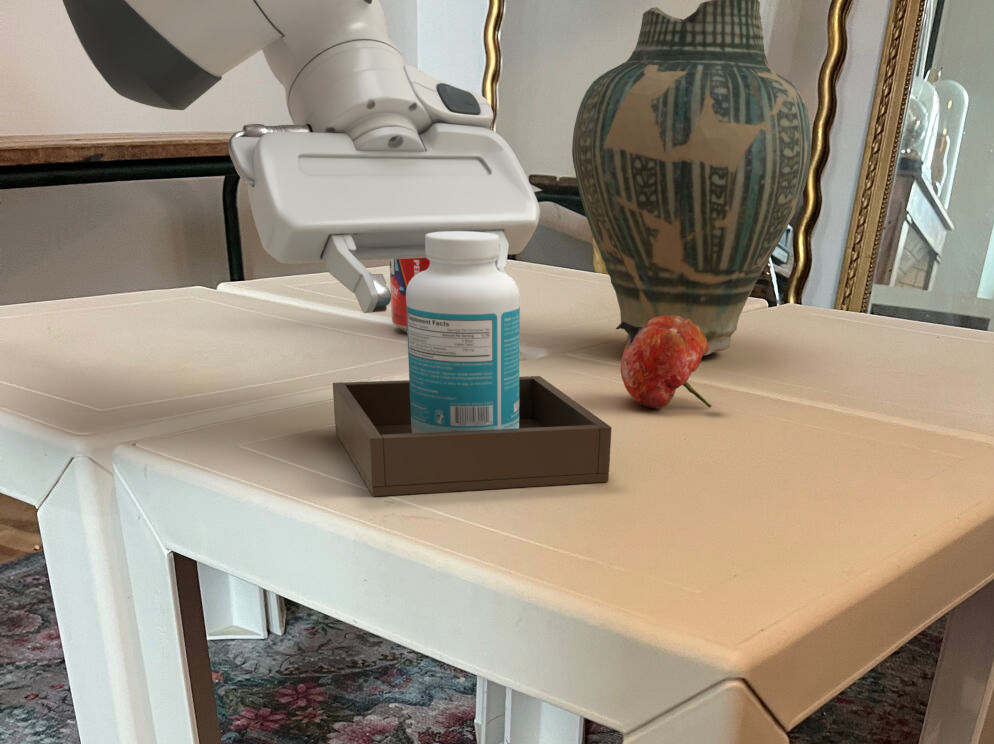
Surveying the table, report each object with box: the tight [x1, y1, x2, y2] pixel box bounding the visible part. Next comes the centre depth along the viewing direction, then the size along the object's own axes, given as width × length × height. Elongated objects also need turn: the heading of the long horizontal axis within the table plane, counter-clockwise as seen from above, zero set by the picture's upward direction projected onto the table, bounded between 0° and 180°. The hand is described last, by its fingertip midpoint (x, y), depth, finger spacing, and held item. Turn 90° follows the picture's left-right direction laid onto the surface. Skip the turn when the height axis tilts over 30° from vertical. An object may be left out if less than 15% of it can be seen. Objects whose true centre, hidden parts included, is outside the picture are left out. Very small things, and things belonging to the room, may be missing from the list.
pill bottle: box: [406, 231, 521, 433], centre depth 74 cm, size 8×7×14 cm
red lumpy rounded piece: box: [615, 315, 712, 409], centre depth 92 cm, size 7×7×10 cm
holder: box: [332, 375, 613, 497], centre depth 77 cm, size 16×16×4 cm
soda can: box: [388, 258, 430, 333], centre depth 116 cm, size 8×8×15 cm
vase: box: [571, 0, 812, 356], centre depth 106 cm, size 22×22×30 cm
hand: (441, 302), depth 75 cm, fingers open, 8 cm apart
